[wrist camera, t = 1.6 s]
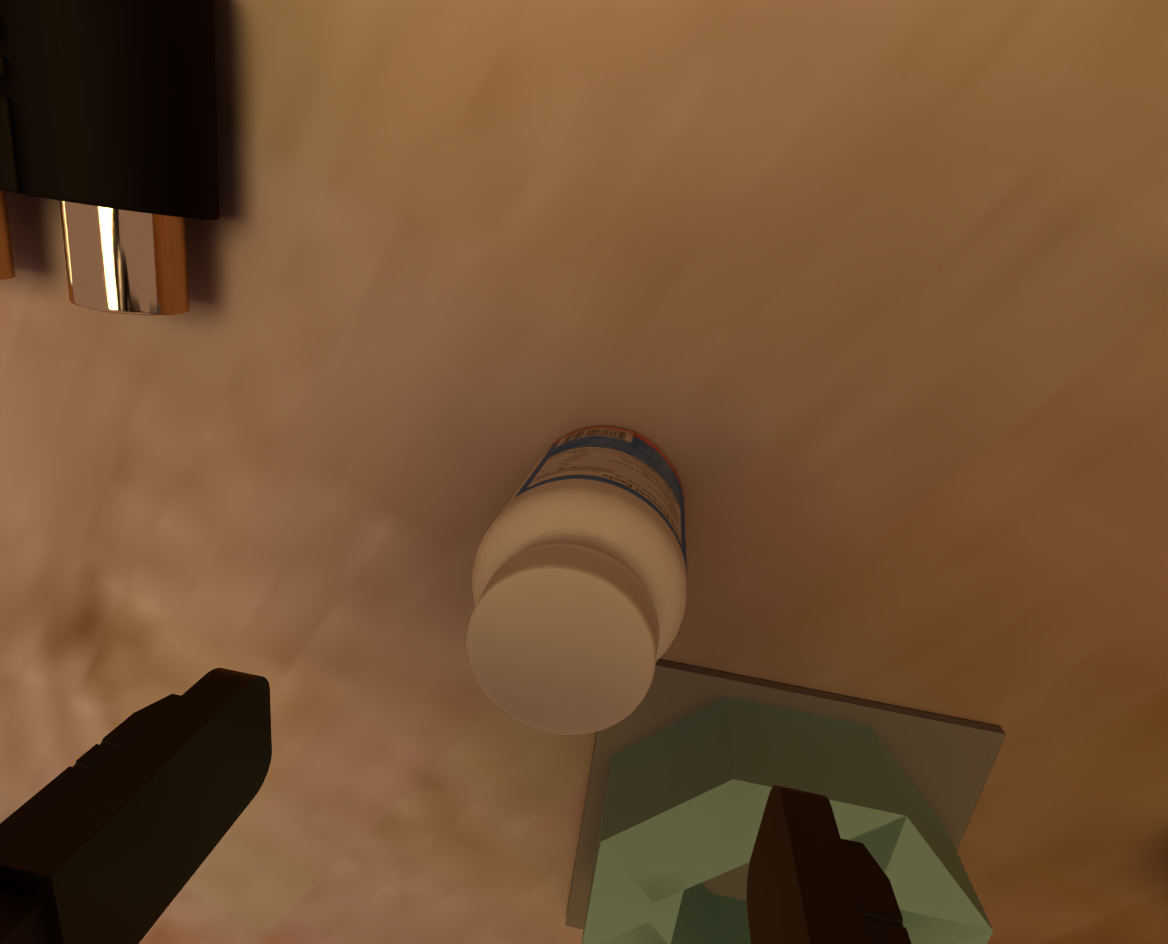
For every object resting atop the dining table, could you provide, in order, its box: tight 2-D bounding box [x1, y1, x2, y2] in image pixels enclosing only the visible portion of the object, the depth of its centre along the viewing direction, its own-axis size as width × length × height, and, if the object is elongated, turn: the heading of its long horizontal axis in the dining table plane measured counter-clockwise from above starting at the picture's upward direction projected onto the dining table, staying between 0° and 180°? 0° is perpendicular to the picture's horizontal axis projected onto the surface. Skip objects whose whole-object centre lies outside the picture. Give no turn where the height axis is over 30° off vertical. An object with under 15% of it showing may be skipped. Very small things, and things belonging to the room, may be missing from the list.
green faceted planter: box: [582, 697, 993, 944], centre depth 23 cm, size 12×12×4 cm
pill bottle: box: [466, 426, 687, 735], centre depth 18 cm, size 6×5×10 cm
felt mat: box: [565, 659, 1006, 929], centre depth 26 cm, size 14×14×1 cm
